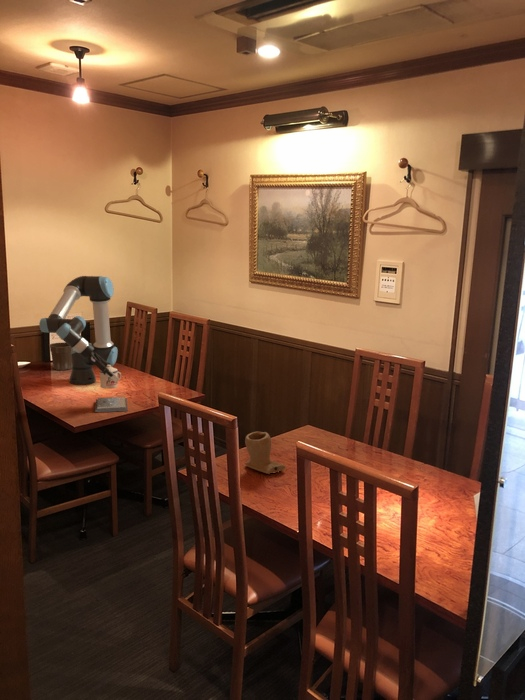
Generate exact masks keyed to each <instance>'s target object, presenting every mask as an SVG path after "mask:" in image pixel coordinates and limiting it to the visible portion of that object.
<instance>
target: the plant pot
mask: <svg viewBox="0 0 525 700" xmlns="http://www.w3.org/2000/svg"><path fill="white" fill-rule="evenodd" d="M48 346H49V349H50V353H51V359H52V366H53V369H54V370H55V369H56V371H66V370H72V356H71V351H72V347H71V346H69V345H68V344H67V343H66V342H65V341H63V342H55V343H50V344H48Z"/></svg>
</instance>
